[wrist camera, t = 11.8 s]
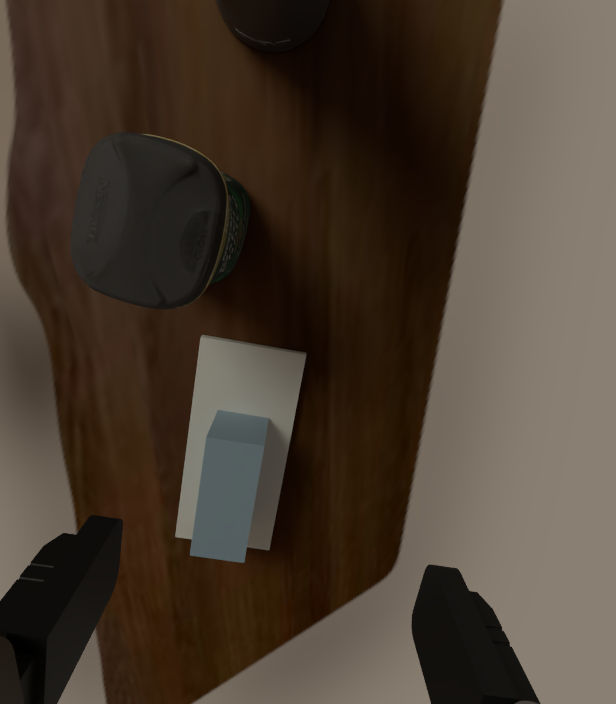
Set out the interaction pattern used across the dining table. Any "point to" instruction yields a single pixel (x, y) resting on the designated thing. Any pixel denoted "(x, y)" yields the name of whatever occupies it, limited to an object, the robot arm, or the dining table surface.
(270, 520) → the board
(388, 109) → the dining table surface
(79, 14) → the dining table surface
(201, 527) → the block
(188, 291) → the coffee jar
